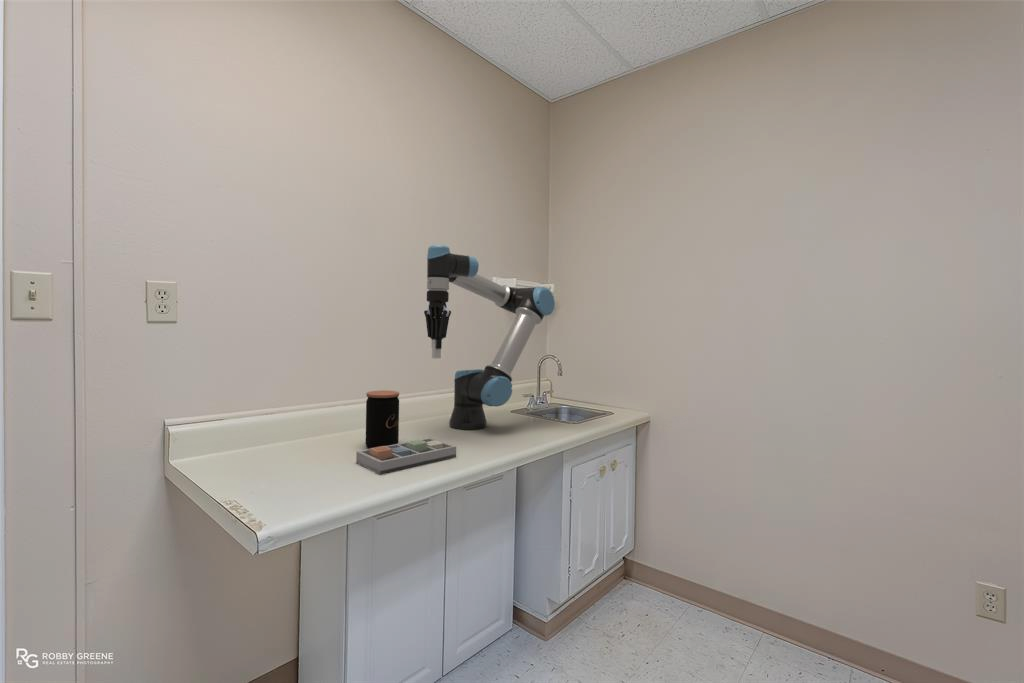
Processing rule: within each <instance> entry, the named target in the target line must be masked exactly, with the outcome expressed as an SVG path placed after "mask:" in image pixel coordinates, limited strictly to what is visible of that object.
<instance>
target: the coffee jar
mask: <svg viewBox="0 0 1024 683" xmlns="http://www.w3.org/2000/svg"><path fill="white" fill-rule="evenodd" d="M399 396H400V391H397V390H386V389H385V390H383V389H382V390H372V391H371V390H370V391H367V392H366V397H367V399H366V402H365V403H366V404H365V445H366V447H367V449H370V448H375V447H380V446H389V445H394V444H399V431H400V426H399V425H400V423H399V422H400V400H399Z"/></svg>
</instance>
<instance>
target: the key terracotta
mask: <svg viewBox="0 0 1024 683" xmlns="http://www.w3.org/2000/svg"><path fill="white" fill-rule="evenodd" d="M369 449H370V456H372V457H374V458H377V459H379V460H381V459H386V458H391V457H392V449H391V448H388V447H386V446H380V447H375V448H369Z"/></svg>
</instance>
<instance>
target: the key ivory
mask: <svg viewBox="0 0 1024 683" xmlns="http://www.w3.org/2000/svg"><path fill="white" fill-rule="evenodd" d="M427 446H429V447H432V448H434V449H441V448H443V443H441V442H438V441H435V440H434V441H428V442H427Z"/></svg>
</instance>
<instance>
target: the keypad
mask: <svg viewBox="0 0 1024 683" xmlns="http://www.w3.org/2000/svg"><path fill="white" fill-rule="evenodd" d="M420 440H422V441H425V442H428V441H434V440H435V441H438V442H441V443H443V448H441V449H434V448H432V447H429V446H427V450H425V451H420V452H416V451H414V450H411V449H410V455H408V456H403V457H402V456H399V455H397V454H395V453H392V457H391V458H386V459H381V460H379V459H377V458H374V457H372V456H370V448H367V449H362V450H357V451H355V452H356V455H355V456H356V457H355V458H356V459H355V461H356V464H358V465H360V466H361V467H364V468H366V469H368V470H370V471H371V472H374V473H375V474H378V475H380V476H381V475H386V474H388V473H389V474H390V473H394V472H397V471H402V470H406V469H411V468H412V469H413V468H416V467H420V466H425V465H428V464H433V463H436V462H441V461H446V460H449V459H455V458H457V446H456V445H453V444H450V443H448V442H445V441H441V440H438V439H435V438H432V437H427V438H423V439H422V438H421V439H420ZM406 442H407V441H405V442H400V443H399V442H398V444H394V445H389V446H386V447H388V448H391V449H392V448H397V447H404V448H406ZM407 449H409V448H407Z"/></svg>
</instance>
